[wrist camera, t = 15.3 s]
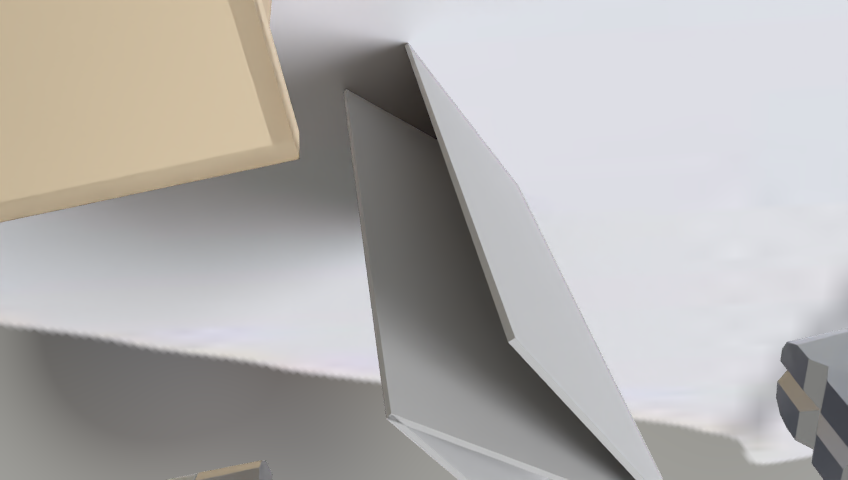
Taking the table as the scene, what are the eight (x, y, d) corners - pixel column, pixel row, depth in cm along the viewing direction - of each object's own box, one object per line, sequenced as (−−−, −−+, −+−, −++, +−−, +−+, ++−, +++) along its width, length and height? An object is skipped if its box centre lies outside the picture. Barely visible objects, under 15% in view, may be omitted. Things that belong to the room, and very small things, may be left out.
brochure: (342, 91, 52) (384, 417, 27) (407, 41, 51) (514, 336, 26) (459, 225, 59) (576, 580, 34) (518, 185, 58) (684, 522, 33)
